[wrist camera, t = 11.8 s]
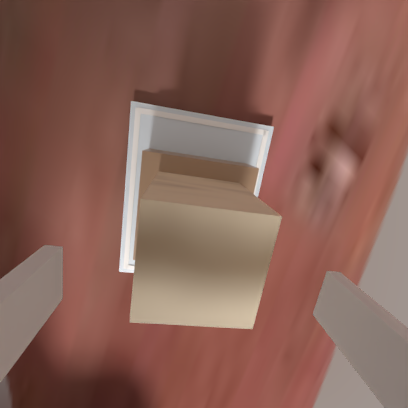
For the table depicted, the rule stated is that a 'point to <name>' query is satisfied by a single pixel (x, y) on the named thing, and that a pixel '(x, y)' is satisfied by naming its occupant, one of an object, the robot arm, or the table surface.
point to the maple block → (201, 253)
